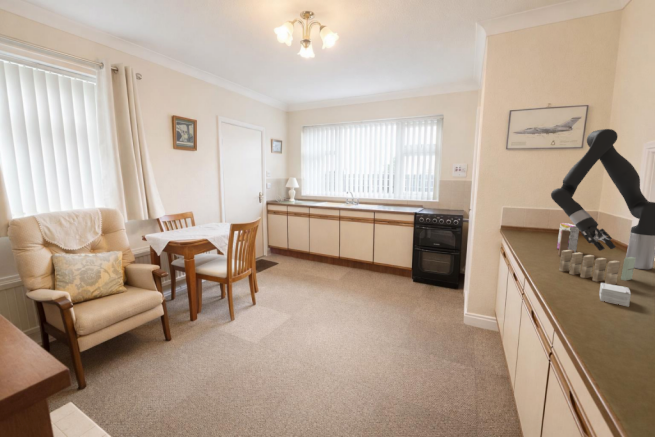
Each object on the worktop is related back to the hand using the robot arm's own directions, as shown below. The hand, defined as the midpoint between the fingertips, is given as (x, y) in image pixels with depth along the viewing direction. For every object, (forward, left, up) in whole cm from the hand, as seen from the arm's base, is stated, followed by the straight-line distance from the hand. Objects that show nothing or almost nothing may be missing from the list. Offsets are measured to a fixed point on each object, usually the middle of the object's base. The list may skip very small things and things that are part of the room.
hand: (608, 249), depth 135 cm
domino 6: (-2, +8, -12) cm, 14 cm away
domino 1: (+16, -5, -12) cm, 20 cm away
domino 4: (+12, +8, -12) cm, 19 cm away
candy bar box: (-17, -37, -12) cm, 43 cm away
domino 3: (+13, +4, -12) cm, 18 cm away
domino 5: (+11, +12, -12) cm, 20 cm away
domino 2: (+15, -1, -12) cm, 19 cm away
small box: (+27, +27, -12) cm, 40 cm away
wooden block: (-7, -27, -12) cm, 31 cm away
